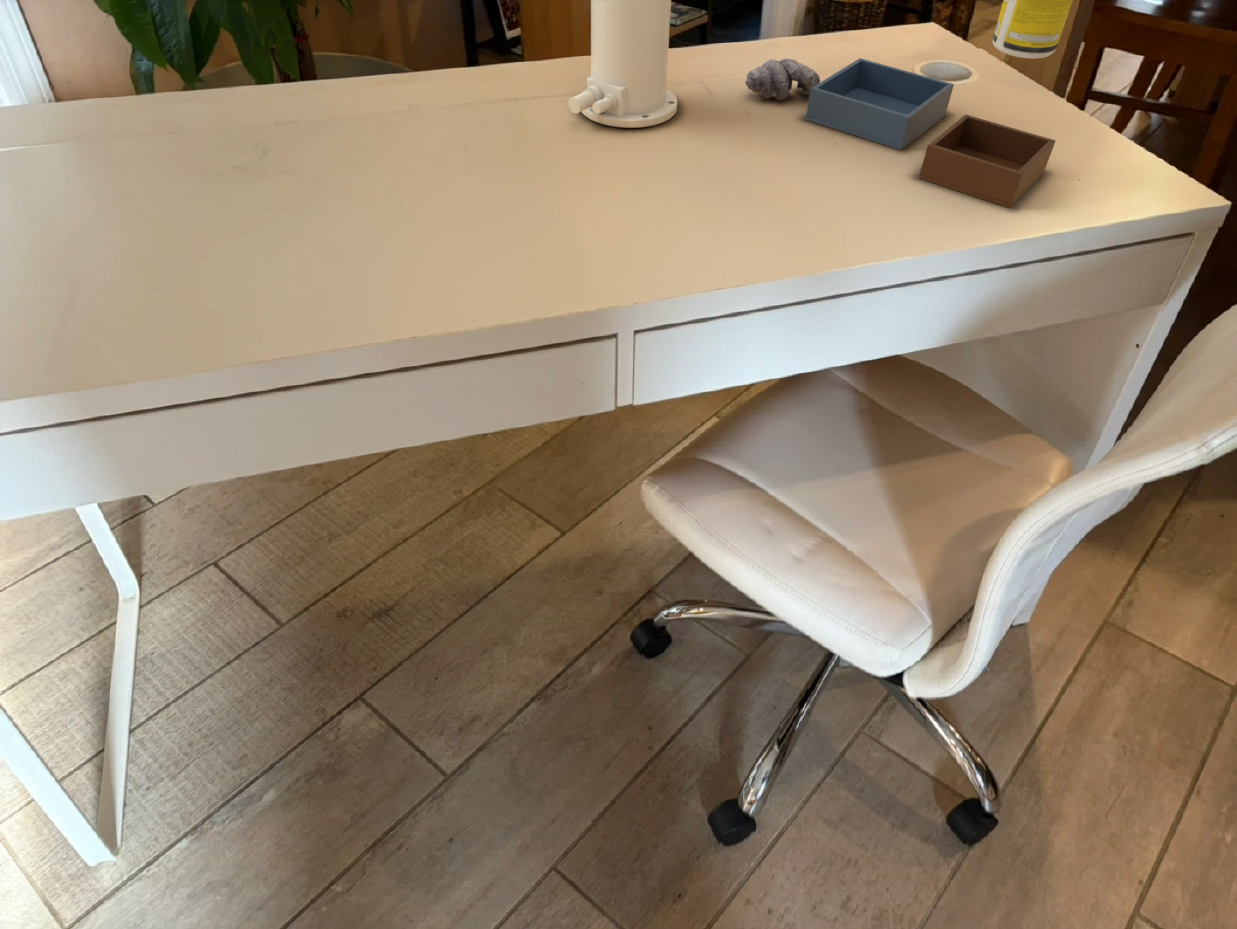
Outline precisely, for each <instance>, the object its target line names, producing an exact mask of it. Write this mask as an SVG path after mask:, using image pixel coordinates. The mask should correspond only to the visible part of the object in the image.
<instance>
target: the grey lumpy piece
mask: <svg viewBox="0 0 1237 929" xmlns="http://www.w3.org/2000/svg"><path fill="white" fill-rule="evenodd" d="M793 81H794V82H797V84H796V89H797V90H800V89H801V90H800V92H801V93H803V95H804V96H806V95H810V90H811V88H812V87H814V86H815V85H817V84H819V83H820V82H821V77H820V74H819V73H817V71H815V70H814V69H813V68H811V67H808V66H807V65H805V64H803V63H801V62H799V61H797V60H795V59H790V58H783V59H780V60H777V59H773V58H771V59H769V60H766V61H765V62H764V63H763V64H762V65H761V66H757V67H755V68H754V69H751V70H750V71H749V72H748V73H747V74H746V79H745V81H744V83H745V85H746V86H747V89H748V90H750V91H752V92H753V93H757V94H759V95H760V96H761V97H762V98H764V99H771V98H774V99H776V100H777V101H780V102H782V101H784V100H785V99H788V98H789V97H790V94H791V93H790V91H791V90H792V87H793Z"/></svg>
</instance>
